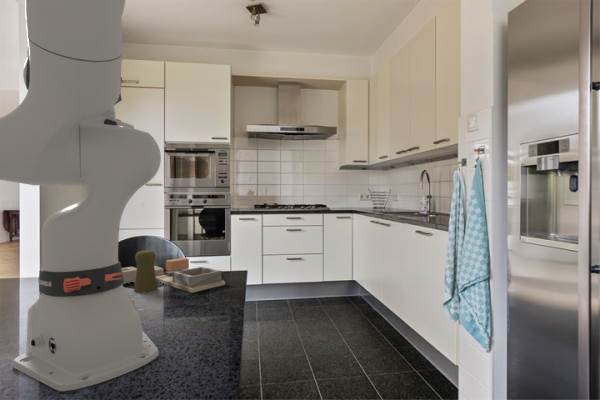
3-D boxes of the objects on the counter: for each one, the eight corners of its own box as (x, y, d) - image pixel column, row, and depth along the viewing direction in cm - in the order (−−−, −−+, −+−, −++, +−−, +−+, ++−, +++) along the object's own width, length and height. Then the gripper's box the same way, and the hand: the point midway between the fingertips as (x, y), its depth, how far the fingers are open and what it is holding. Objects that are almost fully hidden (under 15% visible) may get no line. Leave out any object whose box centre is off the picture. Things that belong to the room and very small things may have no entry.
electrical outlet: (163, 265, 110) (102, 275, 98) (163, 278, 110) (102, 289, 98) (155, 263, 115) (95, 271, 103) (155, 274, 115) (95, 284, 103)
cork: (133, 293, 91) (132, 253, 91) (134, 288, 97) (133, 250, 97) (157, 291, 94) (157, 251, 93) (157, 286, 99) (156, 248, 99)
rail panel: (225, 284, 100) (224, 271, 100) (191, 292, 92) (191, 278, 92) (184, 274, 114) (184, 262, 114) (153, 280, 106) (152, 267, 106)
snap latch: (188, 268, 108) (188, 258, 108) (171, 271, 103) (171, 261, 103) (183, 266, 110) (183, 257, 110) (166, 270, 106) (165, 260, 106)
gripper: (46, 119, 84) (46, 175, 85) (127, 123, 83) (126, 179, 84) (65, 123, 90) (65, 175, 91) (140, 127, 89) (139, 179, 90)
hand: (95, 177), depth 88 cm, fingers open, 8 cm apart
